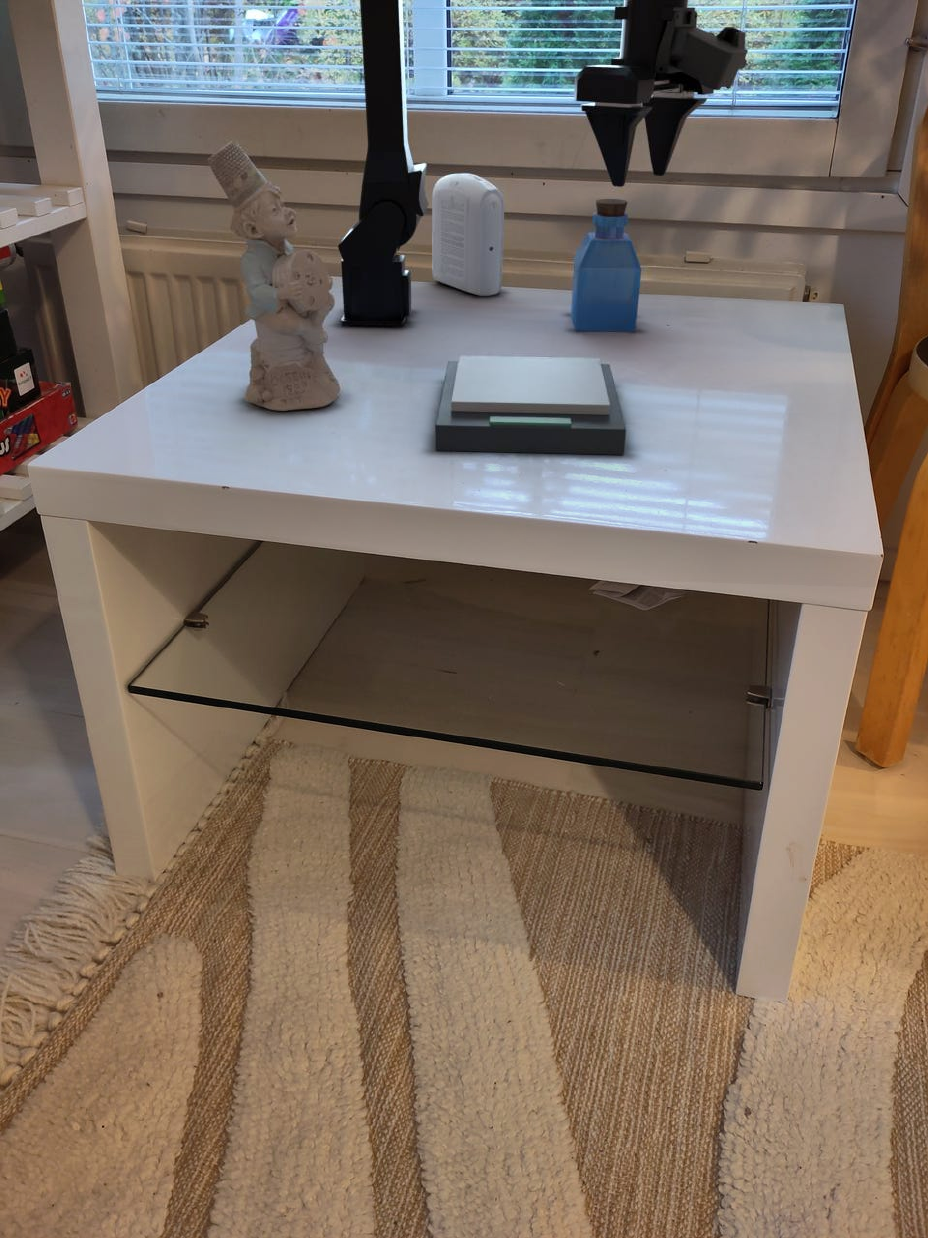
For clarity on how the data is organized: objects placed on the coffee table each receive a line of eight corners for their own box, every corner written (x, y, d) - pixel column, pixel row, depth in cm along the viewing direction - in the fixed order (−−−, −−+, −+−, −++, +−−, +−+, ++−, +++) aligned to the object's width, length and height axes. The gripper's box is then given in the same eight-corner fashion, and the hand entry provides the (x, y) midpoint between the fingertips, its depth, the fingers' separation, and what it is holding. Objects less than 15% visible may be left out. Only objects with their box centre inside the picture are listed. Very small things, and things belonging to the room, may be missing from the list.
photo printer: (507, 293, 118) (510, 178, 111) (477, 298, 115) (479, 181, 109) (456, 276, 125) (456, 167, 118) (427, 281, 123) (426, 170, 116)
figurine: (217, 406, 84) (184, 139, 73) (274, 377, 90) (251, 129, 80) (309, 422, 81) (288, 146, 70) (361, 391, 87) (349, 134, 77)
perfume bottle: (635, 331, 104) (647, 206, 98) (575, 330, 104) (582, 206, 98) (628, 315, 109) (639, 196, 103) (570, 315, 109) (578, 195, 103)
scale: (435, 450, 76) (435, 414, 74) (448, 383, 89) (448, 351, 88) (623, 455, 75) (627, 418, 74) (607, 386, 89) (610, 354, 87)
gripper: (700, -9, 81) (677, 201, 89) (778, -5, 94) (752, 177, 102) (576, -9, 86) (565, 189, 94) (667, -5, 100) (651, 167, 108)
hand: (639, 180), depth 99 cm, fingers open, 9 cm apart
